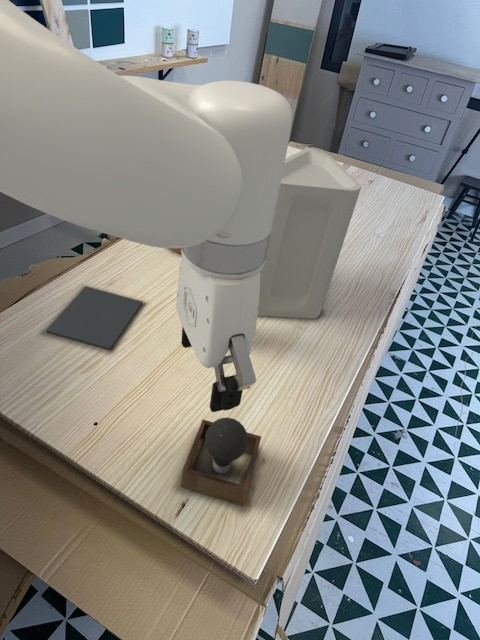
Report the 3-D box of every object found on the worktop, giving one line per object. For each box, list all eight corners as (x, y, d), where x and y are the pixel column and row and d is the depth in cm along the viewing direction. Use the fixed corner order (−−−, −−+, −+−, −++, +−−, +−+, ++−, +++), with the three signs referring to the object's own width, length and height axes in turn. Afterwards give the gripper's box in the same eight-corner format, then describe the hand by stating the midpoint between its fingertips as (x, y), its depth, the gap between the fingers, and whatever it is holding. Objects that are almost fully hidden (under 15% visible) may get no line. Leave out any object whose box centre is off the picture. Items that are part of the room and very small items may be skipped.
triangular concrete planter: (296, 339, 89) (335, 206, 71) (233, 305, 95) (255, 173, 77) (337, 295, 102) (379, 173, 84) (280, 267, 108) (308, 147, 90)
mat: (110, 350, 81) (110, 348, 80) (46, 332, 82) (46, 330, 81) (142, 303, 91) (142, 301, 91) (85, 288, 92) (85, 286, 92)
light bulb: (226, 494, 63) (235, 452, 57) (192, 472, 65) (198, 429, 59) (247, 465, 67) (258, 423, 61) (215, 445, 69) (223, 401, 63)
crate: (242, 506, 62) (247, 490, 60) (180, 486, 63) (182, 470, 61) (257, 452, 69) (261, 436, 66) (200, 435, 70) (202, 419, 67)
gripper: (157, 197, 45) (155, 328, 56) (220, 309, 33) (202, 446, 45) (229, 193, 48) (213, 318, 59) (310, 294, 36) (272, 427, 47)
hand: (208, 373), depth 52 cm, fingers open, 9 cm apart
